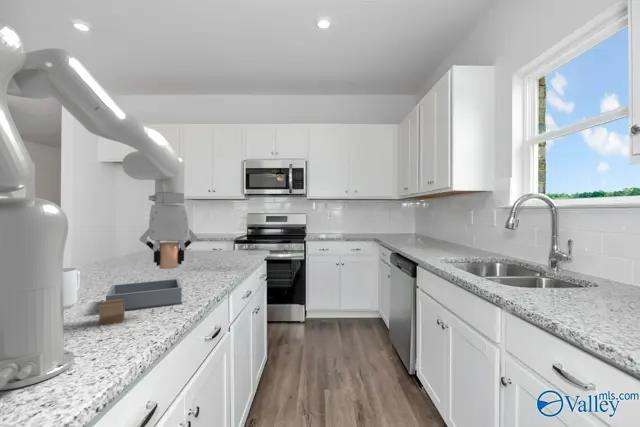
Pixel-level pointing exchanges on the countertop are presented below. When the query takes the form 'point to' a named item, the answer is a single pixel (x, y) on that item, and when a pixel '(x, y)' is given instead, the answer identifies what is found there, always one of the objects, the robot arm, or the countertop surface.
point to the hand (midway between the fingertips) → (169, 263)
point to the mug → (70, 287)
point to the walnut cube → (111, 312)
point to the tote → (147, 294)
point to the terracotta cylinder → (169, 255)
